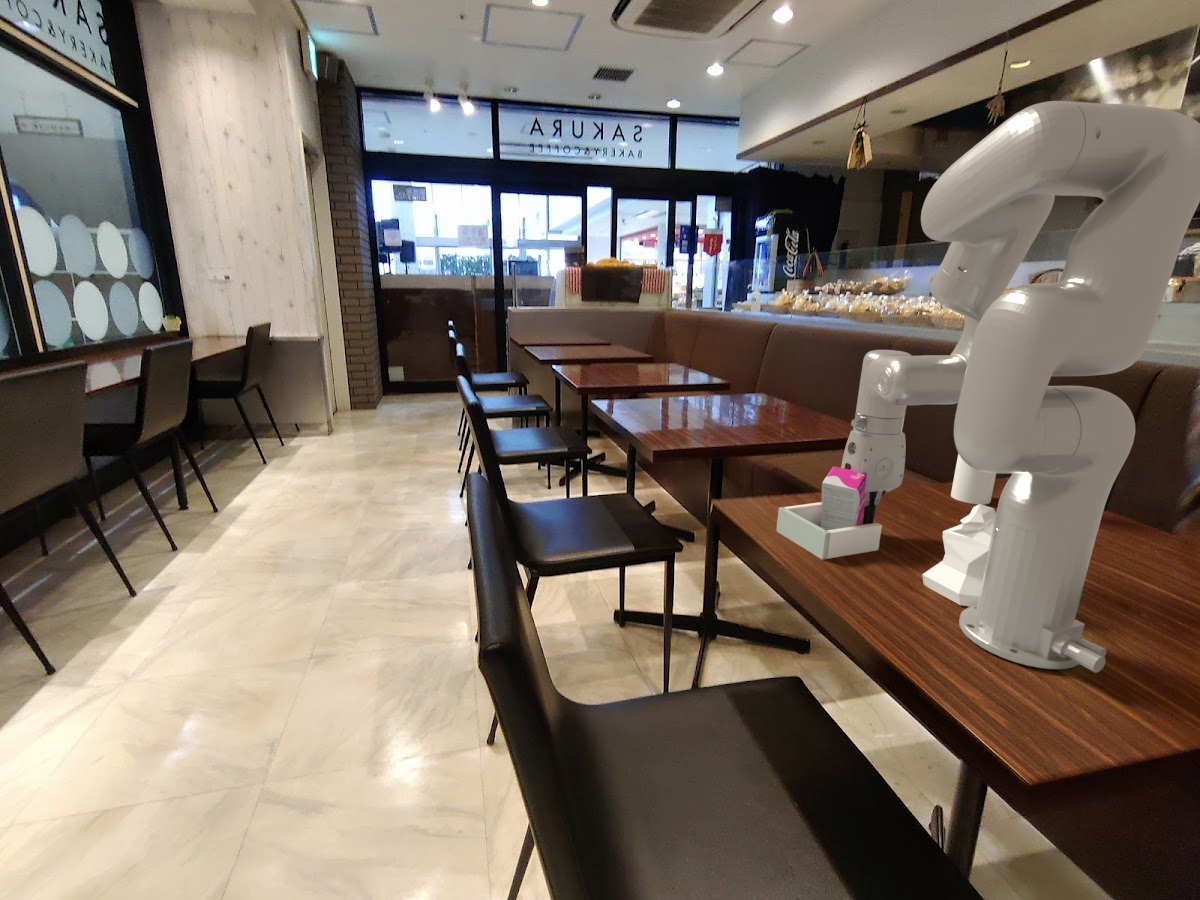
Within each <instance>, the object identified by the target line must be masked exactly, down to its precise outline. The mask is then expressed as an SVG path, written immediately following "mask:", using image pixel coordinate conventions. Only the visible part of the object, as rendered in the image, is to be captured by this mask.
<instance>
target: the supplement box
mask: <svg viewBox="0 0 1200 900" xmlns="http://www.w3.org/2000/svg"><path fill="white" fill-rule="evenodd" d="M866 479H867V473H857V472H855V471H853V470H849V469H844V468H841V467H839V466H832V467H831V469H830V471H829V472H828V473H827V475H826V477H824V480H823V481H822V484H821V502H822V504H821V528H822V529H824V530H833V529H840V528H846V527H853V526H860V525H863V518H864V505H865V488H866Z"/></svg>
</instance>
